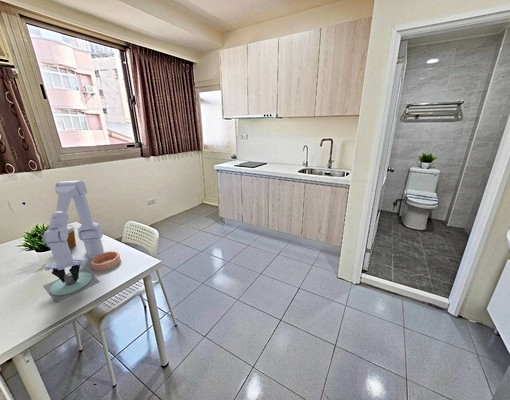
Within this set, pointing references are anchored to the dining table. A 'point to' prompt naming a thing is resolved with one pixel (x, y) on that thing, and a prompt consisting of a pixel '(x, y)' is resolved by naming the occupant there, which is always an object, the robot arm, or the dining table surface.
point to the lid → (70, 284)
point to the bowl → (105, 261)
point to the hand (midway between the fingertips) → (70, 280)
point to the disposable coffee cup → (71, 236)
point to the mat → (60, 298)
